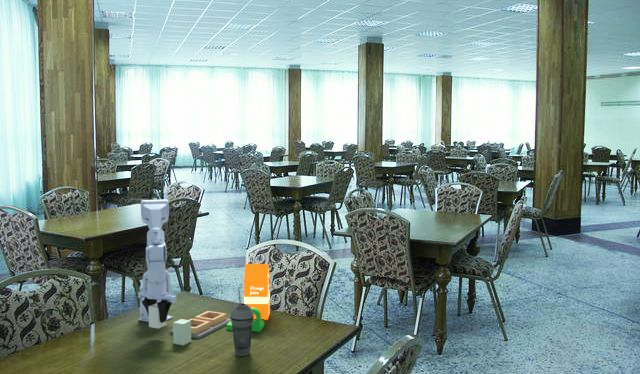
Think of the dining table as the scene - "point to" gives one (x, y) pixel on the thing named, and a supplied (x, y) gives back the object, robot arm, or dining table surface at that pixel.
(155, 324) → the grey-green rectangular block
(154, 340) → the dining table surface
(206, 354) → the dining table surface
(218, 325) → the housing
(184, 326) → the sage block
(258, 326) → the mechanical part
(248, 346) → the beverage cup
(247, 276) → the orange juice
